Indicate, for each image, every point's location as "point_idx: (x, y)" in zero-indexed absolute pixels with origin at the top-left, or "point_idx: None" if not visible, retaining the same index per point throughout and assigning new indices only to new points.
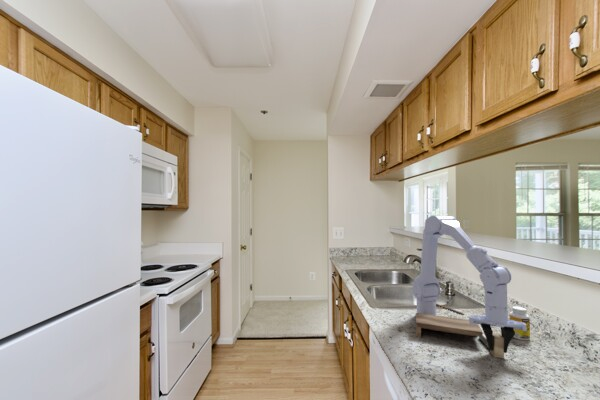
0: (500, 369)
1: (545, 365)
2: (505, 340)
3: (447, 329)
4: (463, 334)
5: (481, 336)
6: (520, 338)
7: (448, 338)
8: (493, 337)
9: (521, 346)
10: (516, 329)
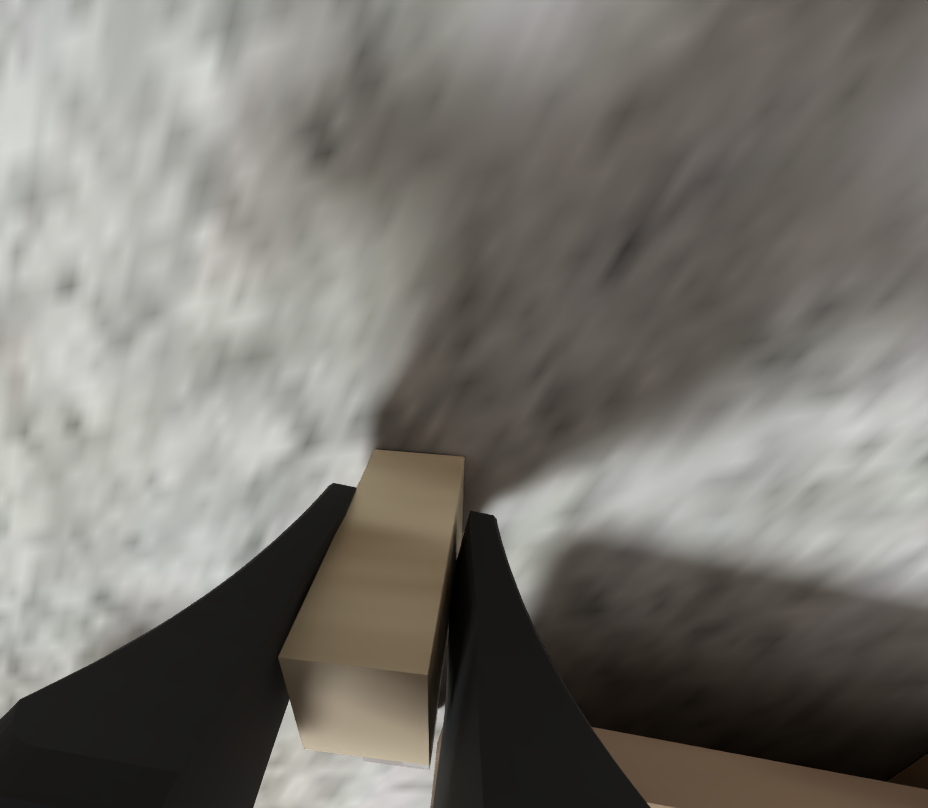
0: (549, 173)
1: (10, 372)
2: (278, 606)
3: (861, 804)
4: None
5: None
6: None
7: (720, 697)
8: (432, 672)
9: None
10: None
